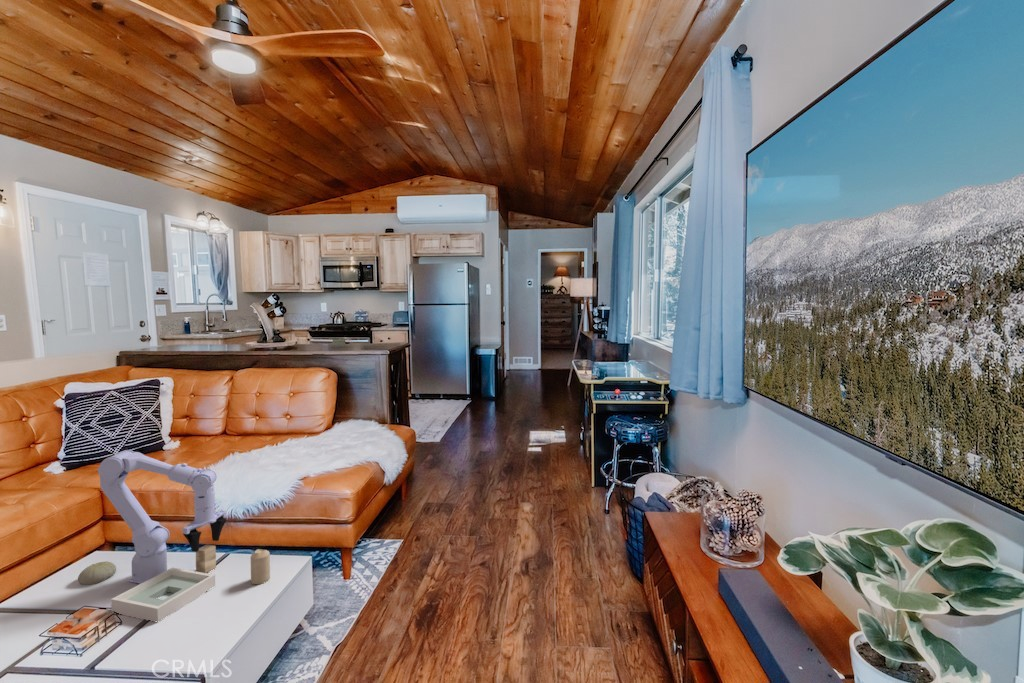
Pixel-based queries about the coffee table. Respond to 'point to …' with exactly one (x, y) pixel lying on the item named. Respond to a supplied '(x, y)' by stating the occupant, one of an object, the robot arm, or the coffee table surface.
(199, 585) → the tray
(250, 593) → the coffee table surface
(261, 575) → the candle
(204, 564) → the peg
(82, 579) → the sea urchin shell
